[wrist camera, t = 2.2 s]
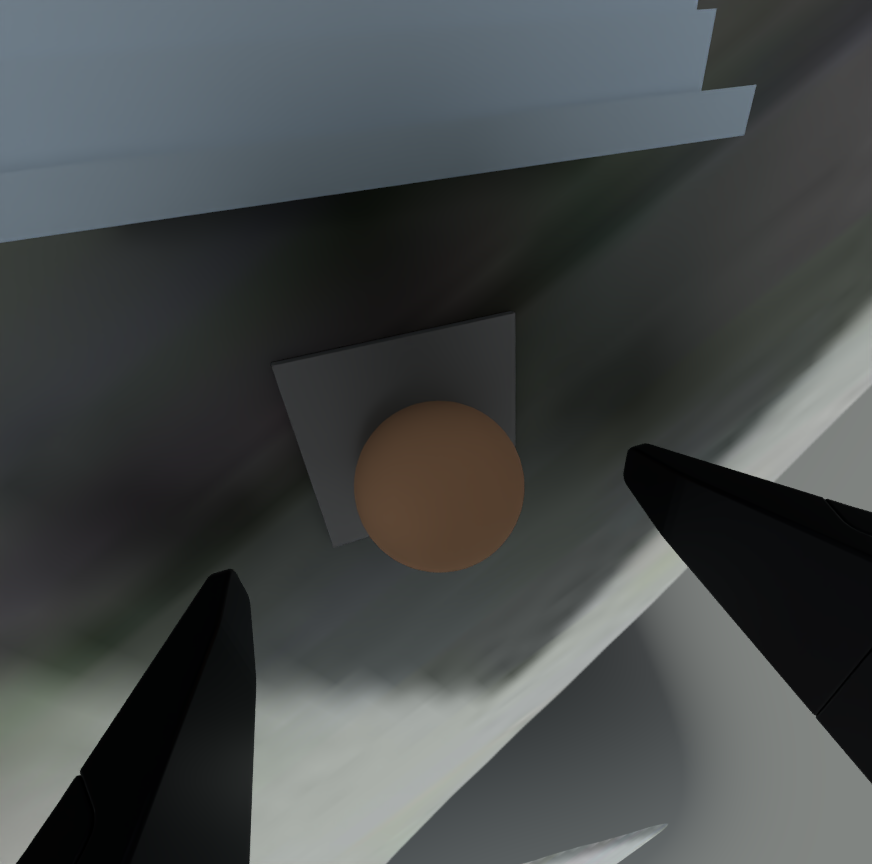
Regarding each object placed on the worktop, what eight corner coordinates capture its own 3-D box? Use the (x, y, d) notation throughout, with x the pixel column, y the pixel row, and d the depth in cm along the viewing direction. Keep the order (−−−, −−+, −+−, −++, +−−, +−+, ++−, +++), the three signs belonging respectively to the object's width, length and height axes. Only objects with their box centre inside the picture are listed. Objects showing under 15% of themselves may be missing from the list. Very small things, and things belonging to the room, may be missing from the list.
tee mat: (332, 542, 13) (333, 547, 13) (271, 362, 10) (271, 365, 10) (512, 487, 14) (515, 491, 14) (511, 310, 11) (515, 312, 11)
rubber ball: (359, 514, 13) (389, 634, 10) (326, 394, 11) (351, 498, 7) (486, 476, 14) (553, 576, 10) (480, 358, 11) (563, 438, 8)
